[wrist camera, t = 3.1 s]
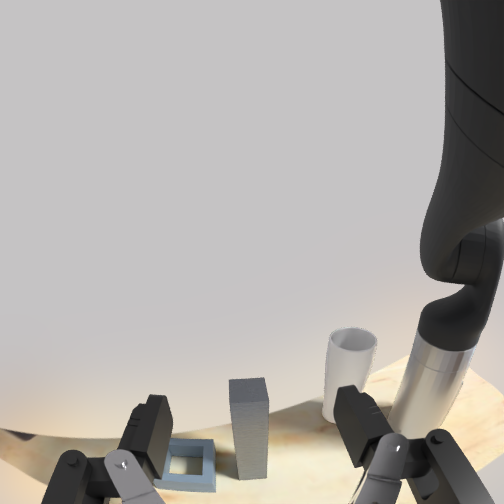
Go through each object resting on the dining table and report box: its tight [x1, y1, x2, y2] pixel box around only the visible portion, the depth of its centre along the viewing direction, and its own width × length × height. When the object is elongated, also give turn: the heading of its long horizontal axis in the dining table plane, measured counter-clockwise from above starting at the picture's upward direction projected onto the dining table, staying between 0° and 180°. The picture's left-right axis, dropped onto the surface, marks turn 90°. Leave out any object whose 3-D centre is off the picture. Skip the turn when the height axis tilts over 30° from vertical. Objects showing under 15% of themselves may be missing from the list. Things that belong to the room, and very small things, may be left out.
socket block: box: [153, 438, 216, 492], centre depth 26 cm, size 8×8×3 cm
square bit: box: [229, 378, 269, 480], centre depth 25 cm, size 4×4×16 cm
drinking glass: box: [322, 327, 377, 424], centre depth 34 cm, size 7×7×15 cm
